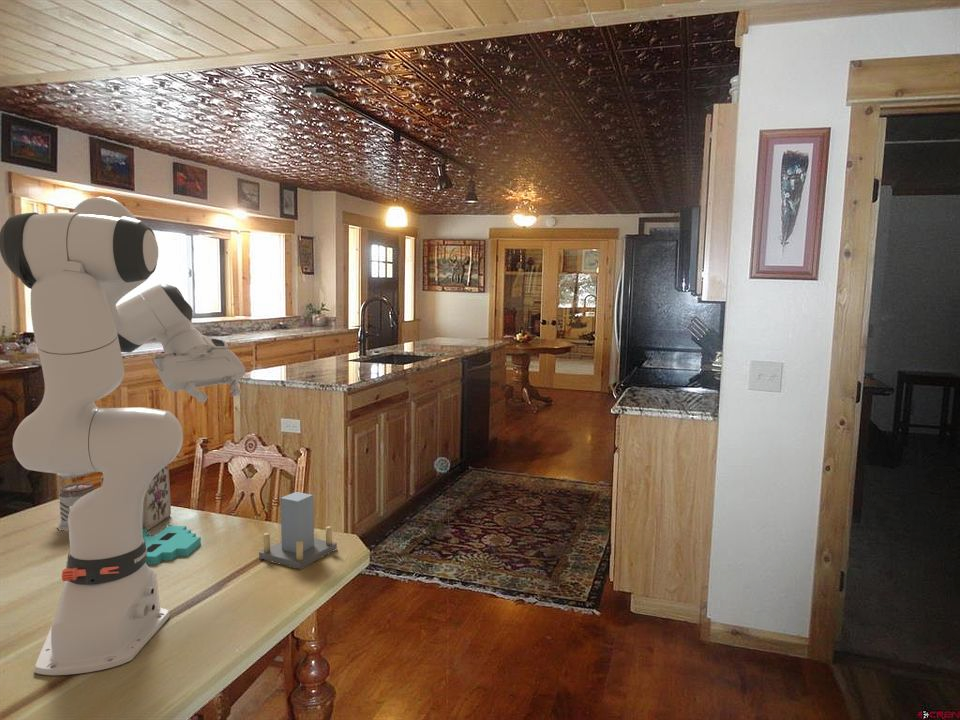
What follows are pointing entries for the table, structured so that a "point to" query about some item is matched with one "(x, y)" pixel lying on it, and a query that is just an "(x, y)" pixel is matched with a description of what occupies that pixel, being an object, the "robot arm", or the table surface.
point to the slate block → (297, 521)
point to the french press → (77, 492)
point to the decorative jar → (156, 500)
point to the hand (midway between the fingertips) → (221, 397)
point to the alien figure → (170, 543)
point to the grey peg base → (297, 551)
